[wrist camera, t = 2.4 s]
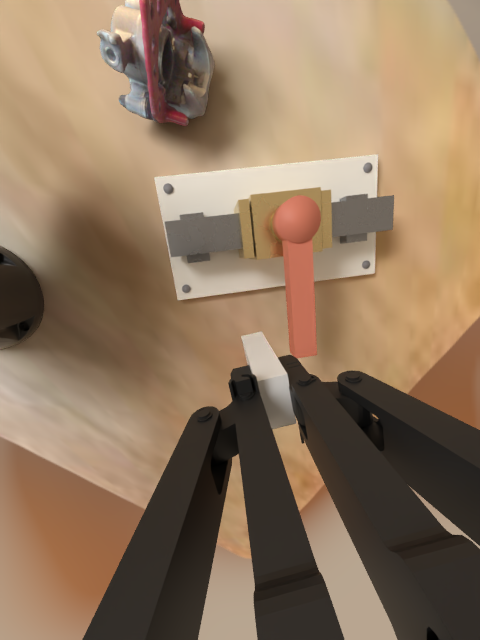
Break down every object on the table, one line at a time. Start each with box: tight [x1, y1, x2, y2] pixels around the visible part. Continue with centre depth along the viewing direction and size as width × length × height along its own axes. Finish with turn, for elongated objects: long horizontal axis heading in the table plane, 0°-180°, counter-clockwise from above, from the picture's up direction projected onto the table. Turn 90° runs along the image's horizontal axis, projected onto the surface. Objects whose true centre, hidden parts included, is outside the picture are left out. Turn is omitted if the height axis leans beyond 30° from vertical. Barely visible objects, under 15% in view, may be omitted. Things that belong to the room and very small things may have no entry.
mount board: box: [154, 154, 378, 300], centre depth 35 cm, size 30×16×1 cm, turn 97°
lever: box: [272, 195, 321, 358], centre depth 27 cm, size 17×4×2 cm, turn 7°
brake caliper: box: [97, 0, 215, 126], centre depth 26 cm, size 11×11×12 cm
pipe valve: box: [165, 187, 394, 263], centre depth 31 cm, size 28×7×9 cm, turn 97°
